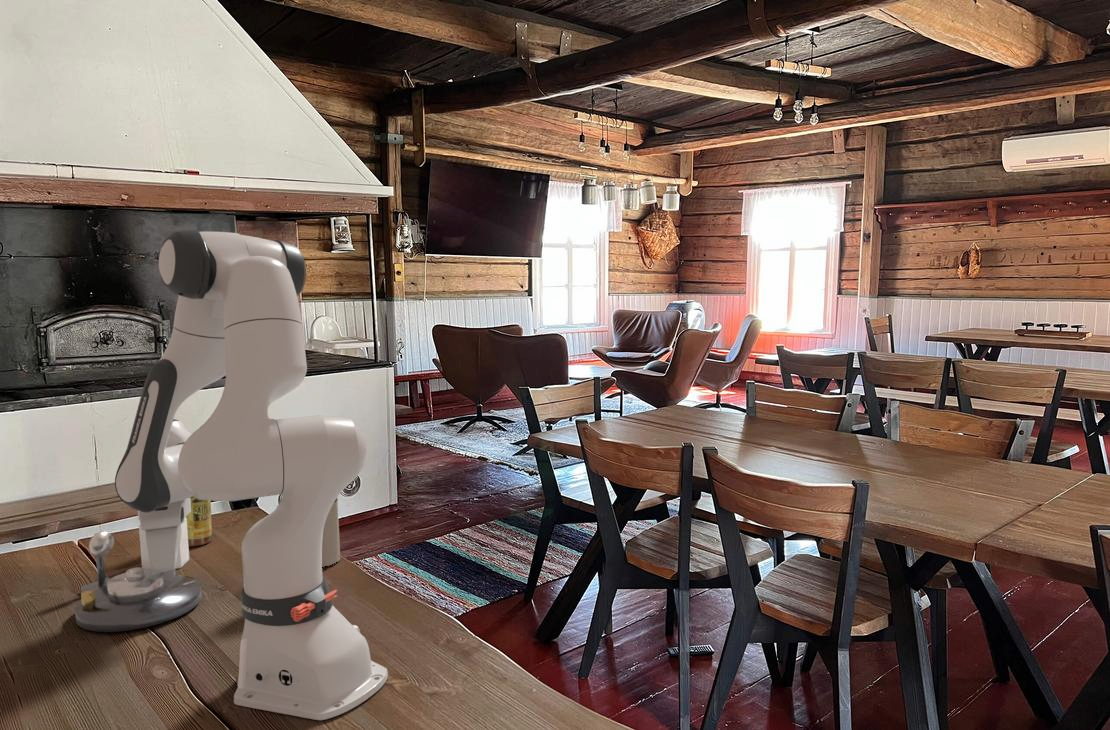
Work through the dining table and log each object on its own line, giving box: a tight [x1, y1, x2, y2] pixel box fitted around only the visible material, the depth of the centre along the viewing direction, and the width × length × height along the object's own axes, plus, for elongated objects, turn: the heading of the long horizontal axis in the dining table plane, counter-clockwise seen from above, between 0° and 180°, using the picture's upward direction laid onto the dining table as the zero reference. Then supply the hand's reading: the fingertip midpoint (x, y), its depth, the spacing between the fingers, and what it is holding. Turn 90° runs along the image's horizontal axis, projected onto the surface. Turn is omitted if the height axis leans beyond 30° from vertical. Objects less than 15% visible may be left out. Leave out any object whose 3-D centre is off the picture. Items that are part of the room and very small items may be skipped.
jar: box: [138, 518, 190, 572], centre depth 159 cm, size 9×8×12 cm
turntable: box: [74, 574, 202, 633], centre depth 138 cm, size 20×20×5 cm
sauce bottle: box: [185, 497, 213, 547], centre depth 172 cm, size 6×6×20 cm
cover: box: [107, 566, 165, 605], centre depth 138 cm, size 9×9×4 cm
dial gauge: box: [81, 531, 115, 593], centre depth 145 cm, size 7×5×12 cm
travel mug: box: [322, 497, 341, 568], centre depth 159 cm, size 8×8×18 cm
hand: (169, 577), depth 143 cm, fingers closed
